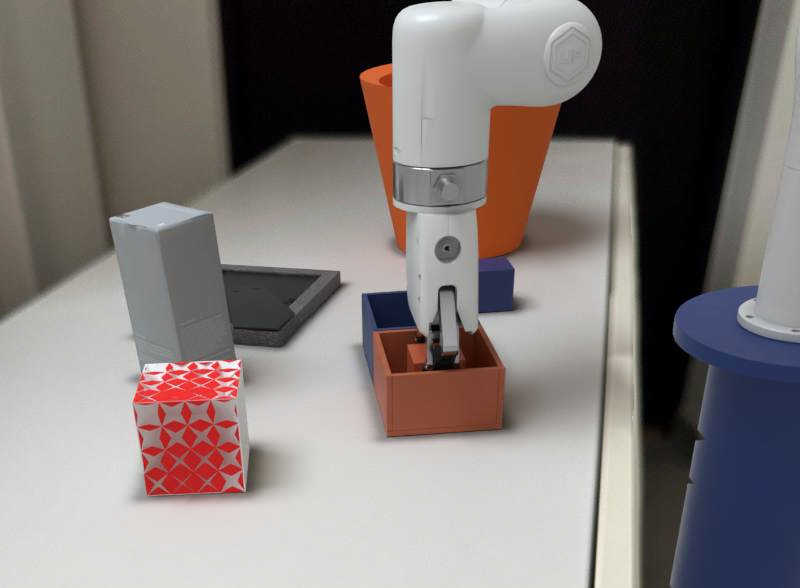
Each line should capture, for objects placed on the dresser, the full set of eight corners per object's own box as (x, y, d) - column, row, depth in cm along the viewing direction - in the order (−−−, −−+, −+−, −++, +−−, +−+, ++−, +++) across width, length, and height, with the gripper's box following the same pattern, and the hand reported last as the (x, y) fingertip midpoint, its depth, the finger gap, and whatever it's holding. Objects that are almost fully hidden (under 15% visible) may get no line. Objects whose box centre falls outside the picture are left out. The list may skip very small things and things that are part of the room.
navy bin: (458, 340, 109) (460, 286, 105) (478, 380, 100) (480, 323, 97) (362, 346, 108) (361, 293, 105) (373, 387, 100) (372, 330, 96)
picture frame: (279, 347, 109) (340, 284, 125) (277, 328, 108) (340, 267, 124) (140, 336, 114) (217, 276, 130) (138, 317, 113) (215, 260, 129)
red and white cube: (245, 491, 84) (236, 398, 79) (147, 496, 84) (132, 403, 79) (249, 447, 90) (241, 358, 86) (158, 452, 90) (145, 363, 86)
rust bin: (478, 381, 100) (481, 324, 97) (501, 429, 91) (505, 368, 88) (373, 388, 100) (372, 331, 96) (386, 436, 91) (386, 376, 88)
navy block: (503, 297, 119) (506, 256, 116) (512, 310, 115) (515, 268, 113) (464, 300, 119) (466, 259, 116) (471, 313, 115) (473, 271, 112)
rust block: (455, 388, 97) (457, 340, 94) (464, 408, 93) (465, 359, 90) (406, 392, 97) (406, 344, 94) (413, 412, 93) (413, 363, 90)
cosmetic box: (240, 381, 102) (224, 210, 93) (180, 402, 99) (157, 227, 89) (190, 359, 108) (170, 195, 98) (131, 379, 104) (105, 211, 95)
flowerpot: (585, 227, 140) (602, 59, 128) (507, 282, 123) (518, 94, 112) (419, 209, 151) (420, 53, 140) (326, 256, 135) (319, 84, 123)
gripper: (508, 206, 77) (495, 435, 88) (467, 157, 91) (460, 361, 102) (406, 212, 77) (406, 441, 88) (381, 163, 91) (383, 366, 102)
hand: (435, 396), depth 95 cm, fingers closed on rust block, 4 cm apart
